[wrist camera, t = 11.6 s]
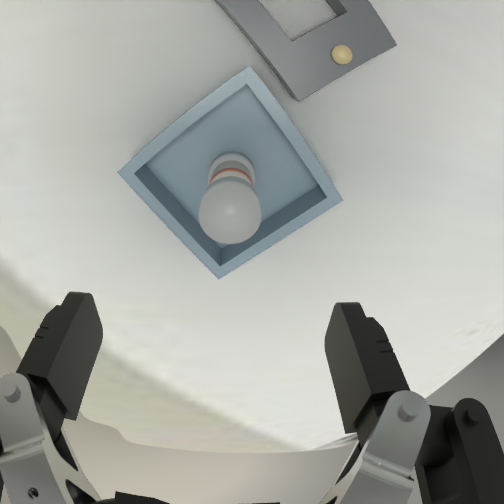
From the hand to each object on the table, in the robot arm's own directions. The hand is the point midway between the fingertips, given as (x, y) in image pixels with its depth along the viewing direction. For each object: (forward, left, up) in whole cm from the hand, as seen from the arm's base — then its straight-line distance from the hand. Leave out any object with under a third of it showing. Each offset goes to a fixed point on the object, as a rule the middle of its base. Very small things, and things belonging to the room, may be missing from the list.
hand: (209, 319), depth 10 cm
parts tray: (0, +1, -20) cm, 20 cm away
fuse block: (-13, -8, -20) cm, 25 cm away
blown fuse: (0, +1, -19) cm, 19 cm away
